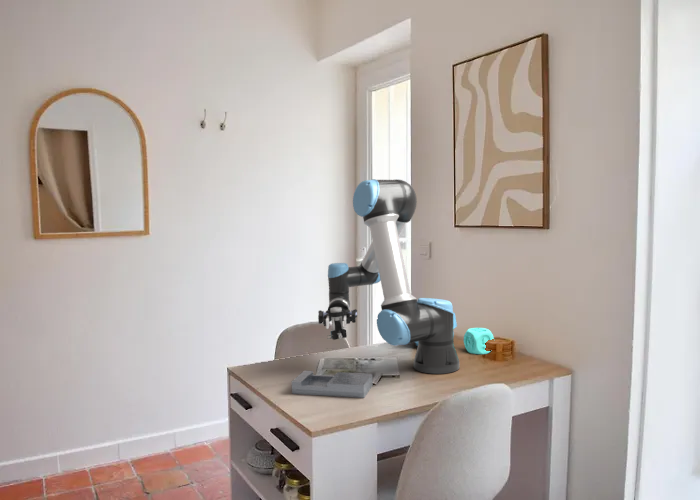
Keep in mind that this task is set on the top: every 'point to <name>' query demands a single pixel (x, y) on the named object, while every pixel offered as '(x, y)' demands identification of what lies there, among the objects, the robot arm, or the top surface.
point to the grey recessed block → (333, 384)
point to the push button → (337, 323)
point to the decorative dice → (477, 340)
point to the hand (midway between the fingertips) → (336, 324)
